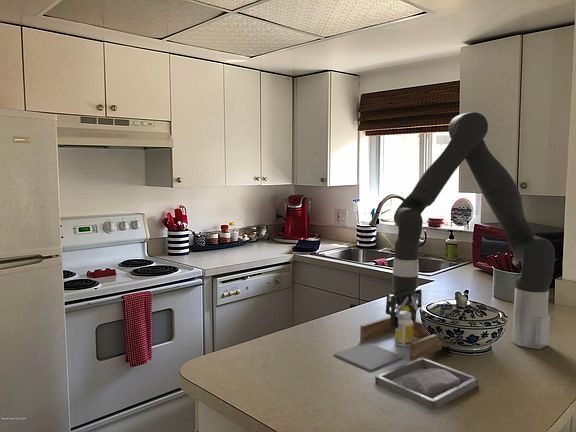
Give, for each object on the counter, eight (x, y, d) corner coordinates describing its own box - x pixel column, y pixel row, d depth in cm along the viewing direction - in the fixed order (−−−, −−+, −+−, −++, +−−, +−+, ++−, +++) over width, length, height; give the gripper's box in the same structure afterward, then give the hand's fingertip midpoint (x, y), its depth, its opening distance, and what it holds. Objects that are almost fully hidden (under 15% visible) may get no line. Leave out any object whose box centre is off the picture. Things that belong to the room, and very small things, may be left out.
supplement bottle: (413, 341, 153) (414, 311, 152) (411, 348, 148) (412, 316, 147) (395, 339, 155) (396, 309, 154) (393, 345, 150) (394, 314, 149)
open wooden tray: (448, 346, 149) (449, 330, 149) (413, 361, 139) (413, 344, 138) (395, 328, 165) (396, 314, 164) (360, 340, 154) (360, 325, 153)
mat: (403, 358, 141) (403, 356, 141) (370, 371, 132) (370, 369, 132) (366, 343, 151) (366, 342, 151) (333, 355, 143) (333, 353, 143)
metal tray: (477, 385, 124) (478, 378, 123) (432, 410, 112) (433, 401, 112) (421, 364, 137) (421, 357, 137) (375, 383, 125) (375, 376, 125)
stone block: (399, 392, 124) (427, 402, 115) (397, 373, 125) (425, 381, 116) (434, 384, 130) (464, 392, 121) (433, 365, 130) (462, 372, 121)
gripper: (400, 278, 142) (398, 333, 144) (430, 272, 151) (427, 323, 153) (380, 273, 148) (378, 326, 149) (409, 267, 156) (407, 317, 158)
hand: (403, 325), depth 151 cm, fingers open, 8 cm apart
